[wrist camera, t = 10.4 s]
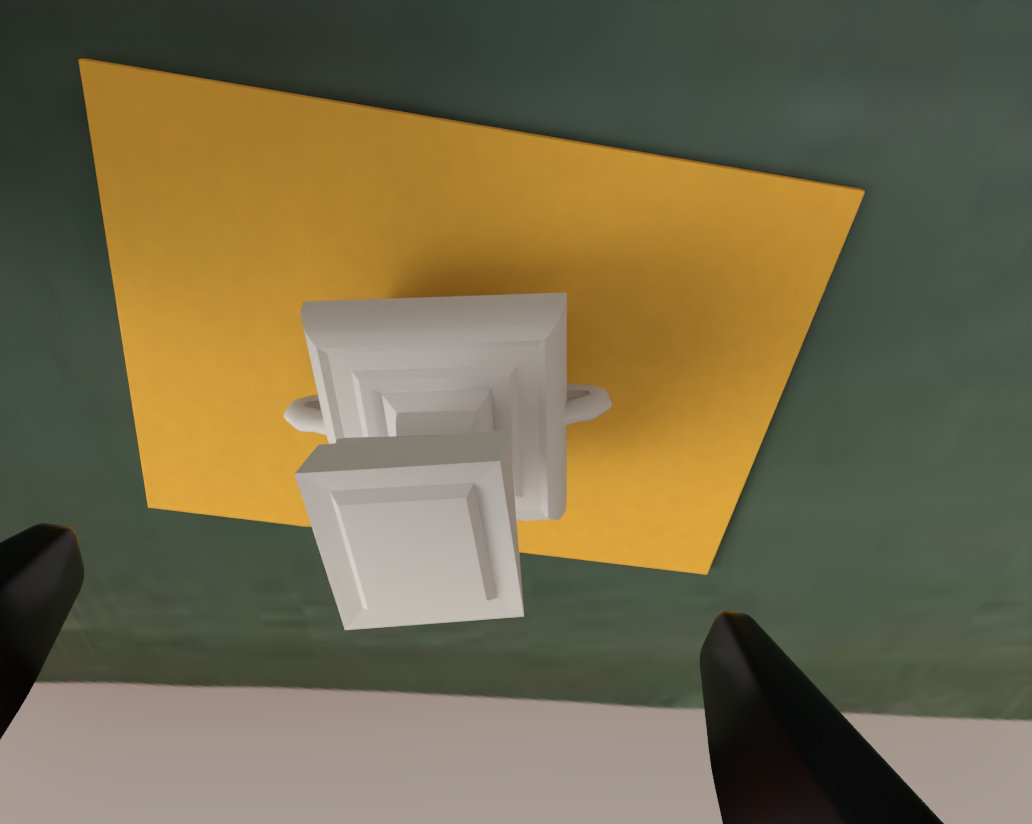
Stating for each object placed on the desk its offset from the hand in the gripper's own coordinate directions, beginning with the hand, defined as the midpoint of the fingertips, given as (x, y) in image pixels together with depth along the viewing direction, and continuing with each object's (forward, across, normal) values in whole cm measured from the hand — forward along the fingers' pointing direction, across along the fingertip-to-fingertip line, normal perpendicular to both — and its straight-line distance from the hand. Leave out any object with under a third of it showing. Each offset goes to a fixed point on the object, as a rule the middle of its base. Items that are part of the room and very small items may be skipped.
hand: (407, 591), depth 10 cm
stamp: (+12, 0, +3) cm, 12 cm away
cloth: (+12, 0, +3) cm, 12 cm away
